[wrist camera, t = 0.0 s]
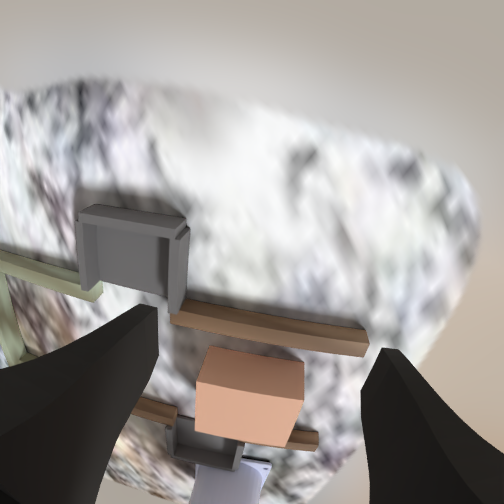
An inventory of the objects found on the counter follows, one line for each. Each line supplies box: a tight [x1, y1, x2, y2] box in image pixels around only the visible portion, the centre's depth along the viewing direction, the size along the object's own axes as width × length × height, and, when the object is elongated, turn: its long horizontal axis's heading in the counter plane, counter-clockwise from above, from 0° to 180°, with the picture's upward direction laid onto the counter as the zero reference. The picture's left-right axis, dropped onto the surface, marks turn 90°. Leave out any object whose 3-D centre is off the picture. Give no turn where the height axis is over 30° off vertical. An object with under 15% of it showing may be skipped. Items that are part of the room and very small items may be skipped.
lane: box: [0, 250, 370, 452], centre depth 23 cm, size 13×32×2 cm, turn 82°
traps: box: [75, 204, 245, 472], centre depth 23 cm, size 25×13×2 cm, turn 172°
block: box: [195, 345, 304, 447], centre depth 22 cm, size 6×7×4 cm
